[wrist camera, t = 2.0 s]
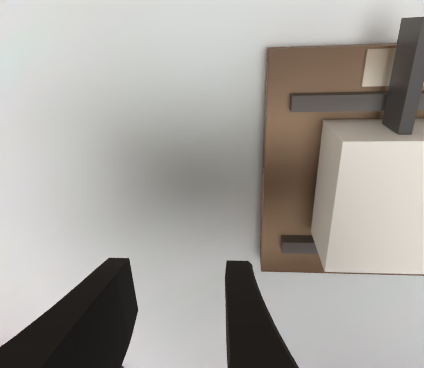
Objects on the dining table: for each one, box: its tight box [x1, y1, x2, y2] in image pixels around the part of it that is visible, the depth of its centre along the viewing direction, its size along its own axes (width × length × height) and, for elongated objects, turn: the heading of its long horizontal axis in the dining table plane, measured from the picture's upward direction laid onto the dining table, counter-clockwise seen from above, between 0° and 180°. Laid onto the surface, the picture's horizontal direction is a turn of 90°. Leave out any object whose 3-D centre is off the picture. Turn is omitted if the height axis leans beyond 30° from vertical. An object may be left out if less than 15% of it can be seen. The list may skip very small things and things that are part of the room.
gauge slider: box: [311, 17, 424, 274], centre depth 14 cm, size 10×7×3 cm
